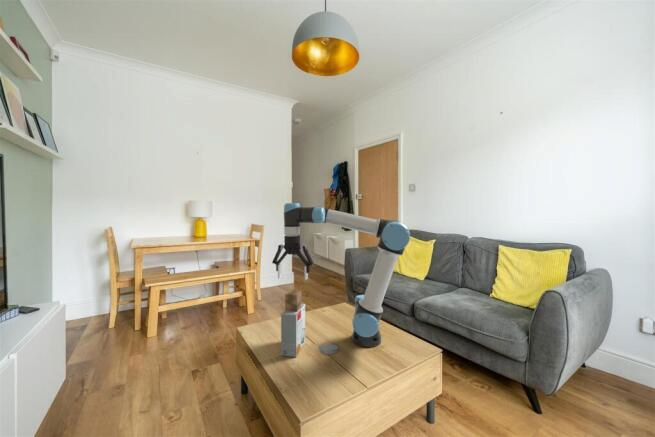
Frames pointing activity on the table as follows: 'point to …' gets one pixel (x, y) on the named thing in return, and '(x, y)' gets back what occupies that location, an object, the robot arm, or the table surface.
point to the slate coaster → (329, 348)
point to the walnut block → (292, 300)
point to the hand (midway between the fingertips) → (292, 278)
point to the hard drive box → (292, 331)
